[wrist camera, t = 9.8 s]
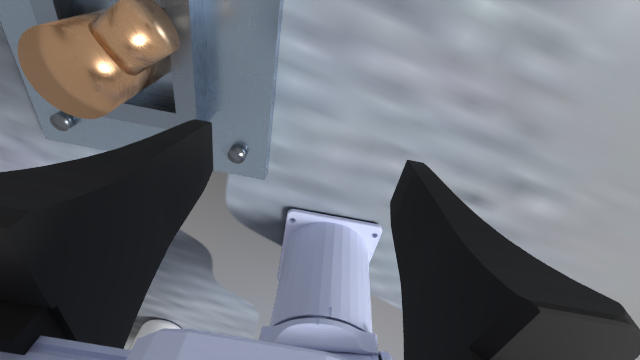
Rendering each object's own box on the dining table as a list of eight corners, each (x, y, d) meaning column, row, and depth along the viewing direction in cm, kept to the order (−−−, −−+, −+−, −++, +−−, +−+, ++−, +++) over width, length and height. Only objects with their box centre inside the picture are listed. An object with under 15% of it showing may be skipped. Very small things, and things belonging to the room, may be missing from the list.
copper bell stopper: (143, 87, 20) (77, 131, 15) (92, 26, 18) (-3, 53, 13) (217, 43, 18) (168, 76, 13) (169, -32, 16) (90, -25, 11)
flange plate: (267, 172, 24) (258, 196, 22) (56, 132, 24) (23, 153, 21) (292, -101, 15) (281, -112, 13) (-56, -178, 14) (-139, -205, 12)
